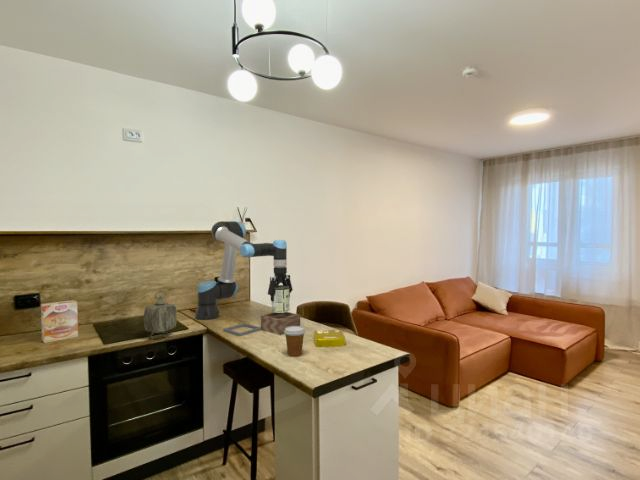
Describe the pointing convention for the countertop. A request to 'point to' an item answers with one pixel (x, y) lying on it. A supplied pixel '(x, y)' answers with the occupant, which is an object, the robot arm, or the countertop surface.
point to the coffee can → (281, 299)
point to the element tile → (329, 338)
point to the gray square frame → (229, 330)
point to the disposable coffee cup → (294, 340)
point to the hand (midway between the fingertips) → (280, 305)
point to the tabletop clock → (160, 317)
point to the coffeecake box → (59, 321)
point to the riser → (279, 322)
